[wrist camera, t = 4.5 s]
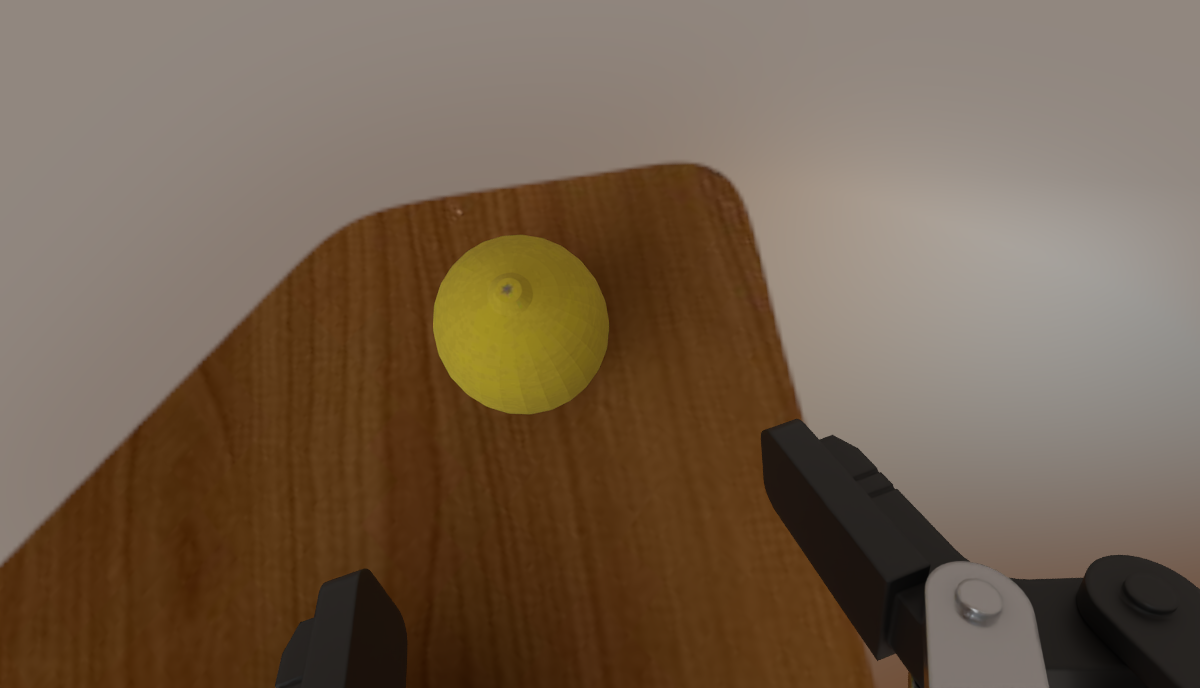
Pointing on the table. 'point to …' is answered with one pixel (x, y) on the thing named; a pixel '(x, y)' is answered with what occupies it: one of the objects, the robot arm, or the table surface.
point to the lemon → (520, 324)
